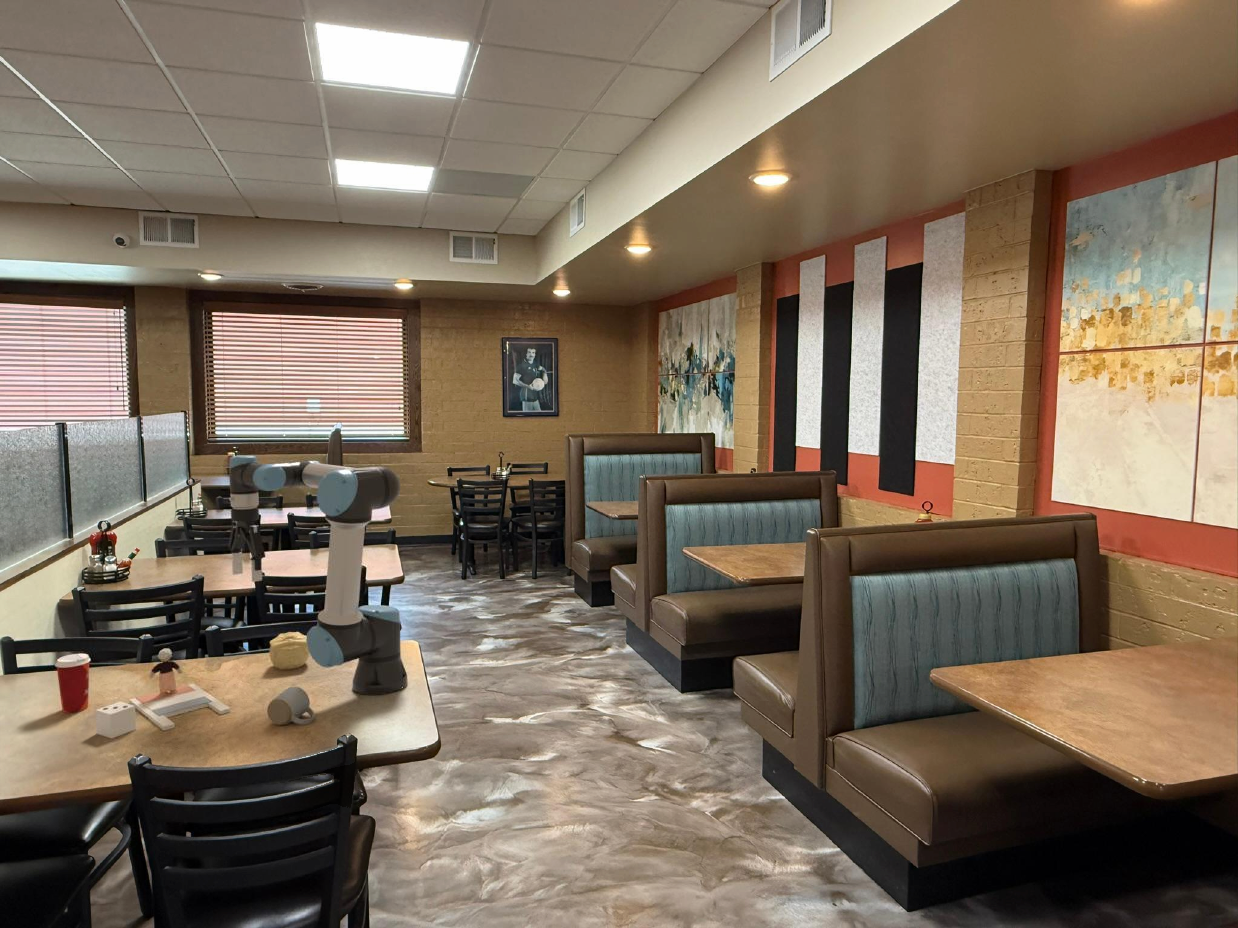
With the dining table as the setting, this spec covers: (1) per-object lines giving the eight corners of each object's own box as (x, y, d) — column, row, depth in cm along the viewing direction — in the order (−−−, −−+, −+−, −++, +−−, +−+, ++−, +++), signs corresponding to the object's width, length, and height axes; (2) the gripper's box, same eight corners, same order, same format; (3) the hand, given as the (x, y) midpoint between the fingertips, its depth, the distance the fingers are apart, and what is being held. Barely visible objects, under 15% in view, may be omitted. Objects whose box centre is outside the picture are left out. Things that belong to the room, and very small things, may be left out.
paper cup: (99, 706, 210) (96, 655, 208) (69, 716, 203) (66, 664, 201) (81, 701, 213) (78, 651, 212) (50, 711, 206) (48, 659, 205)
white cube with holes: (136, 729, 195) (135, 705, 195) (111, 738, 190) (110, 713, 189) (121, 724, 198) (120, 701, 197) (96, 733, 193) (95, 709, 192)
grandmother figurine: (179, 688, 219) (177, 644, 218) (184, 691, 217) (182, 647, 216) (148, 695, 214) (146, 650, 213) (153, 699, 211) (150, 653, 210)
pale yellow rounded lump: (270, 674, 234) (269, 639, 233) (269, 662, 245) (268, 628, 244) (311, 669, 239) (310, 635, 238) (309, 657, 250) (308, 624, 249)
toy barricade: (230, 711, 206) (230, 707, 206) (163, 730, 195) (163, 725, 194) (192, 687, 224) (192, 682, 224) (129, 702, 212) (129, 698, 212)
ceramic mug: (264, 725, 198) (264, 696, 197) (284, 712, 206) (284, 684, 205) (302, 729, 196) (302, 700, 195) (321, 716, 204) (320, 688, 203)
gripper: (214, 504, 239) (217, 572, 241) (249, 512, 222) (252, 586, 224) (240, 502, 245) (242, 569, 246) (276, 510, 228) (278, 581, 230)
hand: (247, 577), depth 235 cm, fingers open, 13 cm apart
